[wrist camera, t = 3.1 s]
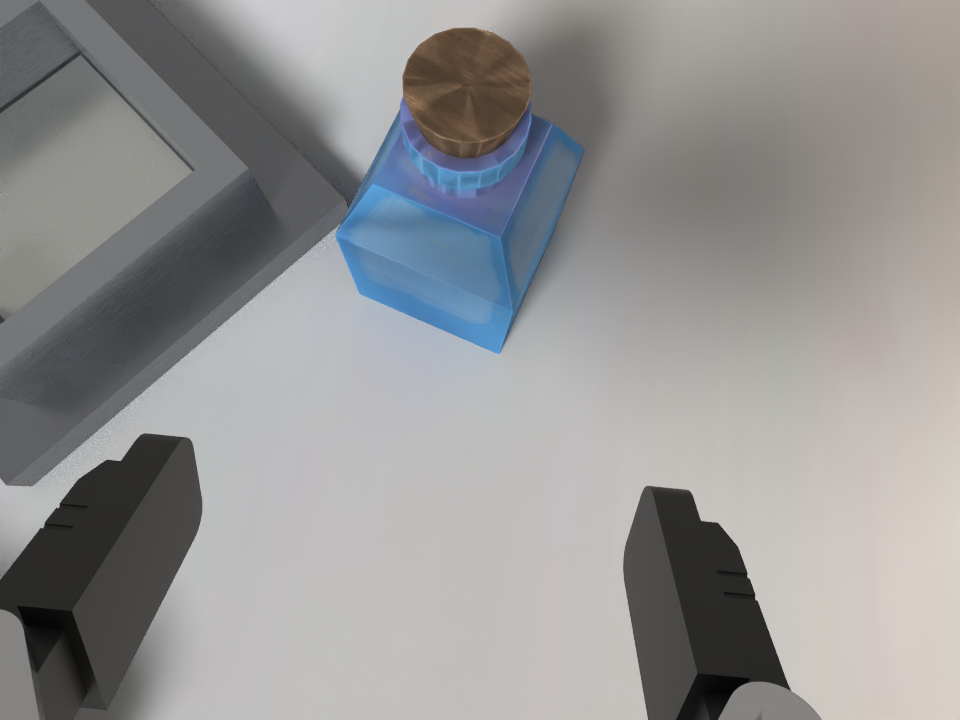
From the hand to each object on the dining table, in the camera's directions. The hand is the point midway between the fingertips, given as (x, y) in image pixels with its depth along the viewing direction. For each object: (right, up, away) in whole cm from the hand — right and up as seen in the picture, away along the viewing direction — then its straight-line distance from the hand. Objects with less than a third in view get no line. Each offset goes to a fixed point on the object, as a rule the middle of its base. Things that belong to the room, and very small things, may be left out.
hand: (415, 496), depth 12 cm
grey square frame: (-15, +8, +16) cm, 23 cm away
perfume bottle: (0, +7, +16) cm, 18 cm away
